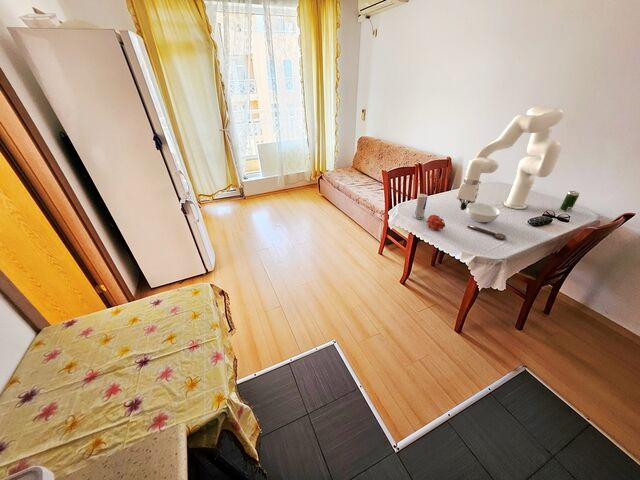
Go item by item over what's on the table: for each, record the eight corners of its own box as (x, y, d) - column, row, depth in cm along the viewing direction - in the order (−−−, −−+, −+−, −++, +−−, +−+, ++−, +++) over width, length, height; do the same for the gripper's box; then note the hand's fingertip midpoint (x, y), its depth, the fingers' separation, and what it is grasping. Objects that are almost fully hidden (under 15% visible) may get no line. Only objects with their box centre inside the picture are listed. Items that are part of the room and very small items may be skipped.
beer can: (572, 211, 157) (582, 193, 150) (564, 212, 157) (573, 194, 150) (565, 208, 161) (574, 190, 155) (557, 208, 161) (566, 191, 155)
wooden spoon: (465, 228, 146) (466, 225, 145) (469, 225, 149) (470, 222, 148) (503, 241, 133) (504, 238, 133) (506, 237, 136) (507, 234, 135)
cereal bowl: (461, 220, 154) (464, 210, 150) (468, 211, 165) (471, 201, 161) (493, 228, 145) (497, 217, 141) (498, 217, 155) (502, 207, 151)
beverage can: (424, 219, 158) (428, 197, 150) (414, 219, 159) (418, 196, 151) (422, 215, 163) (426, 193, 155) (413, 215, 164) (417, 193, 156)
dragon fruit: (425, 225, 155) (441, 236, 147) (420, 221, 149) (436, 232, 141) (435, 214, 152) (451, 224, 144) (429, 209, 146) (446, 220, 138)
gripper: (487, 182, 147) (477, 211, 157) (461, 177, 157) (453, 204, 167) (481, 186, 143) (472, 214, 153) (455, 180, 153) (448, 207, 163)
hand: (462, 209), depth 160 cm, fingers closed
